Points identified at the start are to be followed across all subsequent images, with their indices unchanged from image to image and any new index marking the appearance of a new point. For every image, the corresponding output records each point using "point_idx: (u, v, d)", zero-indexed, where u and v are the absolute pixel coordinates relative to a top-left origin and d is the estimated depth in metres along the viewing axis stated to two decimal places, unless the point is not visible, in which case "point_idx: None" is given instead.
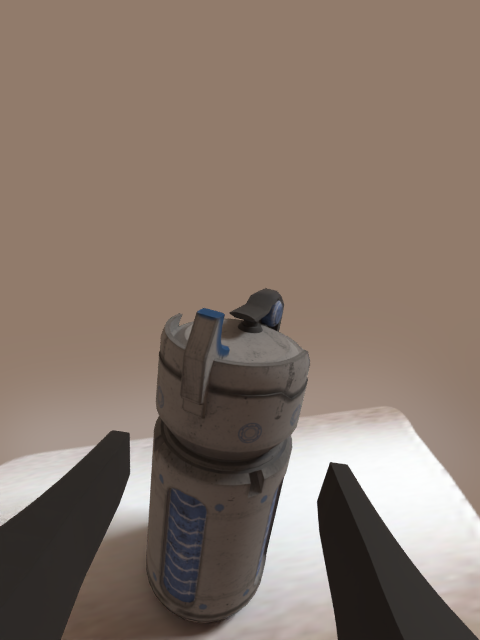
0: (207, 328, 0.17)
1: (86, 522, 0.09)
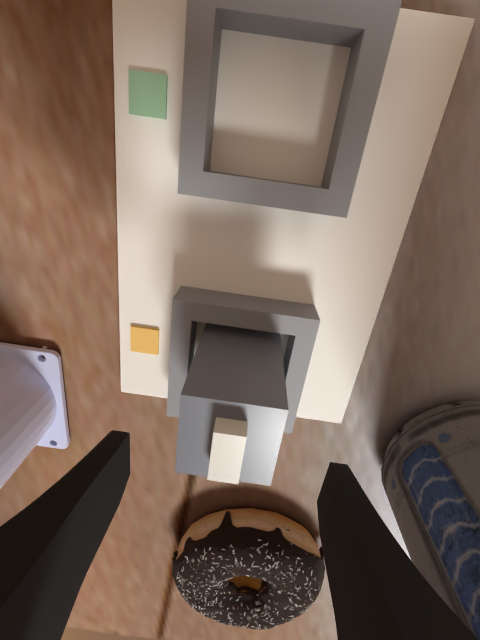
0: None
1: (86, 522, 0.09)
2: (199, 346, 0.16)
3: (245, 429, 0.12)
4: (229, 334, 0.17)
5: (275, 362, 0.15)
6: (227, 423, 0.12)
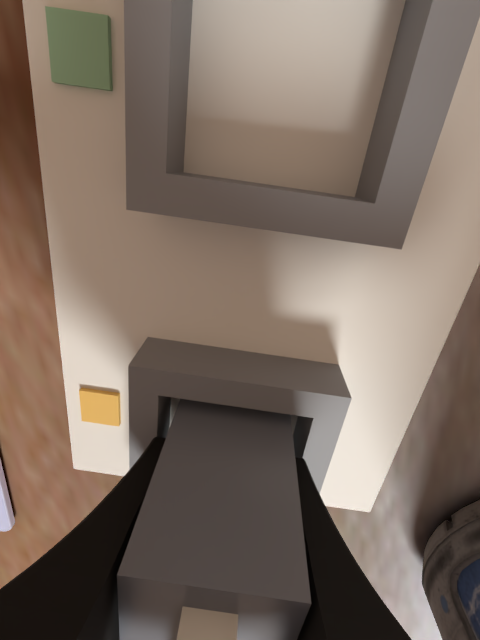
0: None
1: None
2: (167, 442, 0.10)
3: (233, 639, 0.07)
4: (215, 412, 0.12)
5: (284, 472, 0.10)
6: (202, 622, 0.07)
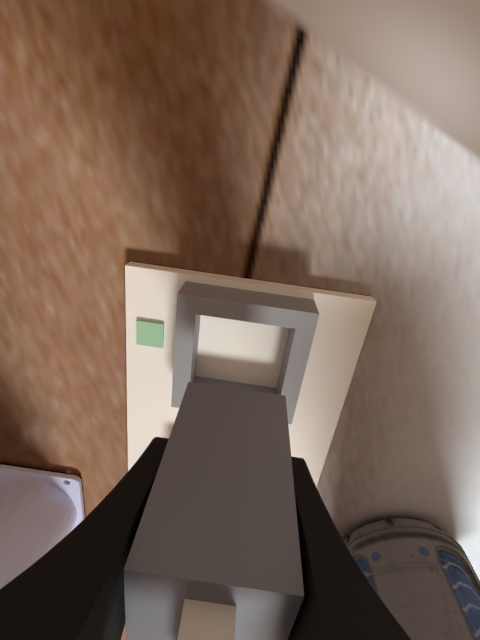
0: None
1: None
2: (169, 444, 0.11)
3: (232, 629, 0.07)
4: (215, 415, 0.12)
5: (281, 472, 0.10)
6: (202, 613, 0.07)
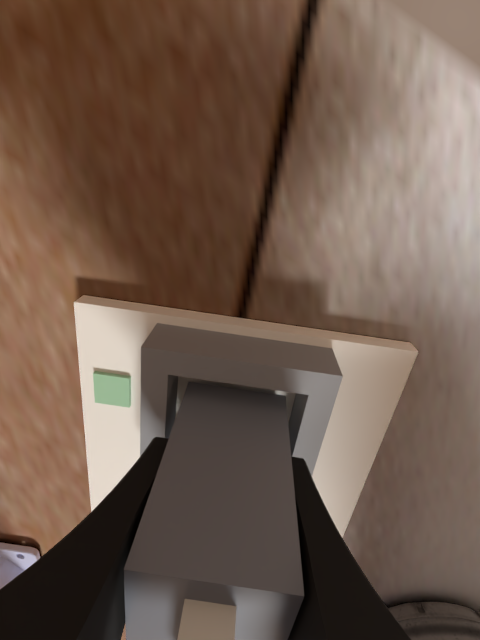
0: None
1: None
2: (169, 444, 0.11)
3: (232, 629, 0.07)
4: (215, 415, 0.12)
5: (280, 472, 0.10)
6: (203, 613, 0.07)
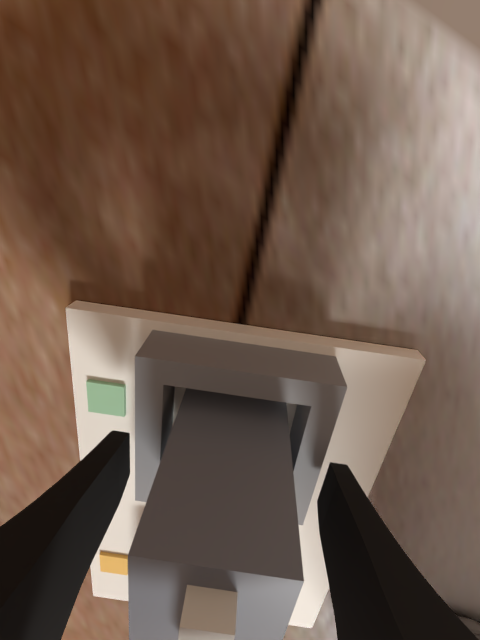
0: None
1: (86, 522, 0.09)
2: (171, 437, 0.11)
3: (233, 613, 0.07)
4: (216, 409, 0.12)
5: (280, 465, 0.10)
6: (204, 598, 0.08)
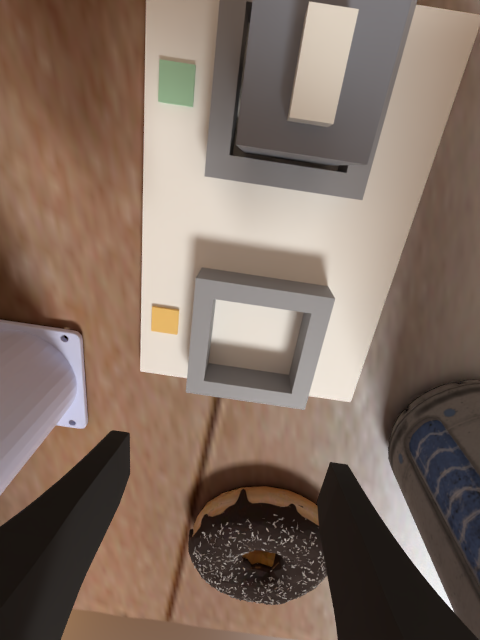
0: None
1: (86, 522, 0.09)
2: None
3: None
4: None
5: None
6: None
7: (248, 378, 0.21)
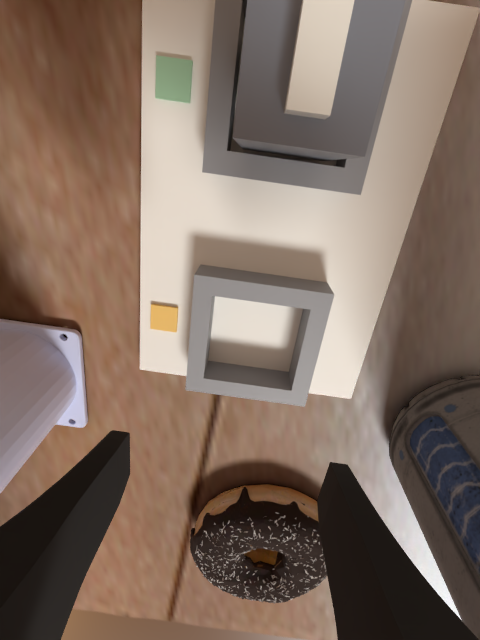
0: None
1: (86, 522, 0.09)
2: None
3: None
4: None
5: None
6: None
7: (248, 375, 0.20)
